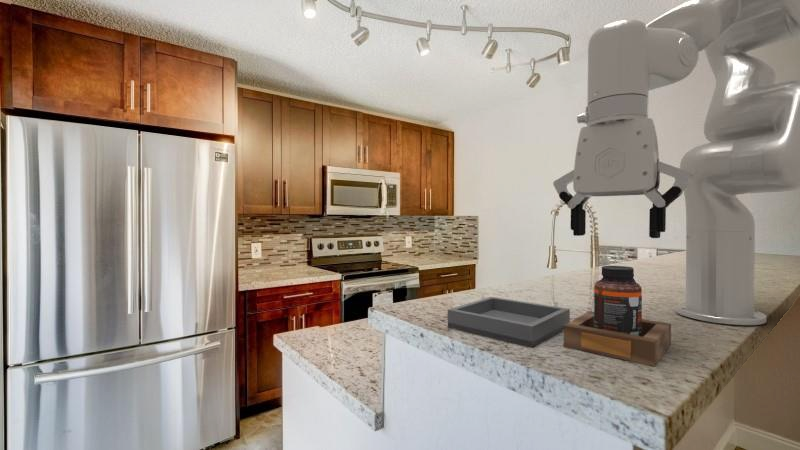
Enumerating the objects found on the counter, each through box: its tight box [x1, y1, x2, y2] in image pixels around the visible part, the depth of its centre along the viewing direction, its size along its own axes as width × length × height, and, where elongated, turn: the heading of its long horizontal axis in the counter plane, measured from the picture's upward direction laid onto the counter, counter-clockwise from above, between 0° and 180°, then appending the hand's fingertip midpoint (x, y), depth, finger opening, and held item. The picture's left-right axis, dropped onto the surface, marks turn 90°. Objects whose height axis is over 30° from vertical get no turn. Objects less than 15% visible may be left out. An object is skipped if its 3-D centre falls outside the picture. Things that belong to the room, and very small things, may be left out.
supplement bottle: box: [593, 265, 643, 337], centre depth 55 cm, size 6×6×11 cm
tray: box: [447, 296, 571, 348], centre depth 64 cm, size 14×15×3 cm
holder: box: [563, 310, 672, 367], centre depth 55 cm, size 11×11×3 cm
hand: (614, 236), depth 54 cm, fingers open, 9 cm apart
